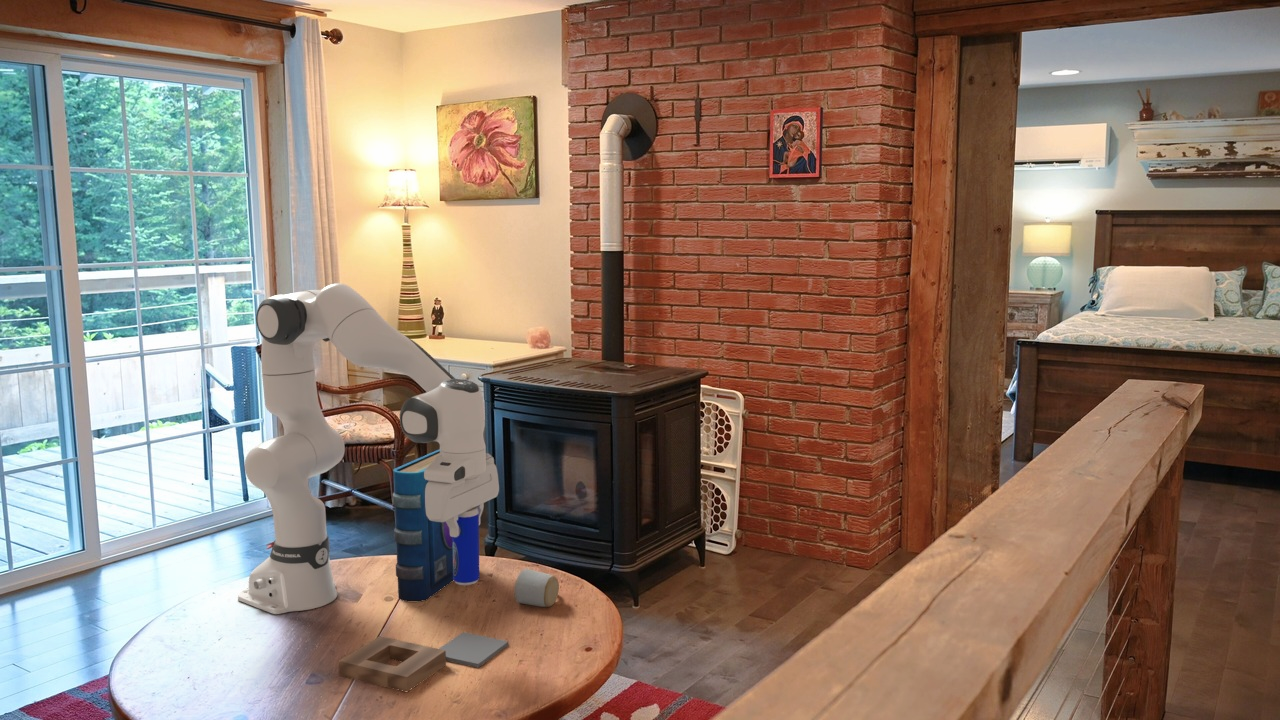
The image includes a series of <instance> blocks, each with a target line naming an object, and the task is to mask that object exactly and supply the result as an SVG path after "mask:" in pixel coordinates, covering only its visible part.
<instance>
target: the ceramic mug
mask: <svg viewBox="0 0 1280 720" xmlns="http://www.w3.org/2000/svg"><path fill="white" fill-rule="evenodd" d="M559 591H560V584H559V580H558V578H557V577H556V576H554V575H552V574H550V573H546V572H542V571H538V570H537V571H536V570H533V569H530V568H529V569H528V568H524V569H522V570H521V571H520V572H519V573H518V576H517V577H516V581H515V586H514V598H515V601H516V602H517V603H518V604H523V605H528V606H535V607H540V608H541V607H542V608H548V607H552V605H554V604H555V603H556V601H557V599H558V596H559Z"/></svg>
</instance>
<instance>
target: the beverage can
mask: <svg viewBox="0 0 1280 720" xmlns="http://www.w3.org/2000/svg"><path fill="white" fill-rule="evenodd" d="M456 521H457V524H458V526H460V527H461V532H462V534H461V535H459V536H458V537H452V541H453V580H454V581H453V582H454V583H455V584H457V585H460V586H470V585H473V584H476V583H477V582H478V581H479V579H480V525H479V512H478V509H477V507H474V508H472V509H470V510H468V511H466V512H464V513H462V514H460V515H458V520H456Z"/></svg>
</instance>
